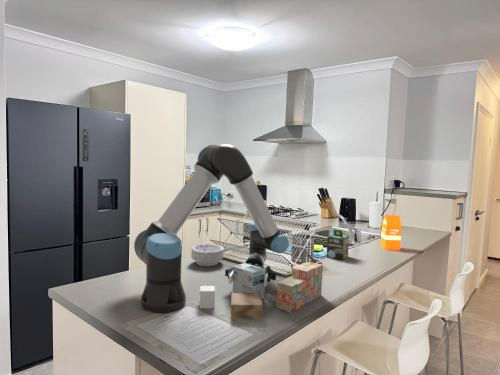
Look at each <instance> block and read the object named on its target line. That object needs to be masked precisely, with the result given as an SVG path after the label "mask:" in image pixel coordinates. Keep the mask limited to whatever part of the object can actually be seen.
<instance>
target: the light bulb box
mask: <svg viewBox="0 0 500 375" xmlns="http://www.w3.org/2000/svg"><path fill="white" fill-rule="evenodd" d="M238 264H239V263H238ZM263 268H264V267H263ZM263 268H260V267H256V266H253V265H250V264H246V263H245V262H243V263H240V264H239V265H236V264H234V265H233V281H232V293H260V294H261V299H264V298H265V291H266V290H265V288H266V287H264V279H265V269H263Z"/></svg>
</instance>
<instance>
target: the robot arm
mask: <svg viewBox="0 0 500 375" xmlns="http://www.w3.org/2000/svg"><path fill="white" fill-rule="evenodd" d="M193 168H194V172H193V173H192V175H191V176H190V178H189V179H188V180H187V181H186V183H185V184H184V185H183V187H182V188H181V189H180V190H179V192H178V193H177V195H176V196H175V197H174V199H173V200H172V202H171V203H170V205H168V207H167V208H166V210H165V211H164V213H163V214H162V215H161V216H160V217H159V219H158V220H157V221H152V222H151V223H150V225H149V226H148V227H147V228H146V229H145V230H142V231H141V232H139V233H138V234H137V235H136V237H135V239H134V242H133V250H134V252H135V254H136V257H138V259H139V260H140V261H142V262H143V263H144V264H145V265H146V270H145V271H146V274H145V275H146V276H145V277H146V279H145V280H146V281H145V282H146V283H145V286H144V289H143V292H142V294H141V297H140V307H141V309H143V310H144V311H147V312H151V313H169V312H174V311H177V310H179V309H182V308H183V307H184V306H185V305H186V301H187V297H186V292H185V290H184V287H183V283H182V253H183V252H182V251H183V245H182V240H181V238H180V237H179V236H178V233H179V231H180V230H181V229H182V227H183V226H184V224H185V223H186V222H187V220H188V219H189V217H191V216H190V215H191V214H192V213H193V212H194V210H195V209H196V207H197V206H198V204H199V203H200V202H201V200H202V199H203V198H204V196H205V195H206V194H207V192H208V191H209V189H210V188H211V187H212V185H213V184H218V183H219V182H220V180H221V179H222V178H223V177H226V179H227V180H228V181H229V183H230V185H232V186H234V188H235V189H236V191H237V193H238V194H239V197H240V199H241V201H242V202H243V204H244V206H245V209H246V210H247V212H248V214H249V216H250V217H251V219H252V221H253V222H252V223H250V226H249V247H248V256H247V259H246V260H245V262H244V263H246V264H250V265H253V266H256V267H260V268H263V269H265V279H264V287H265V288H267V285H268V283H271V280H272V281H276V280H277V273H276V272H275V270H273V269H272V268H271V266H269V265H267V266H266V267H264V266H265V264H266V261H267V250H268V251H271V252H272V253H277V254H283V253H285V252H287V250H288V249H289V246H290V243H289V242H290V241H289V239H288V237H287V236H285V234H282V233H281V231H280V229H279V228H278V226H277V224H276V222H275V220H274V218H273V216H272V214H271V212H270V210H269V208H268V206H267V203H266V201H265V199H264V198H263V195H262V193H261V192H260V190H259V188H258V186H257V183H256V182H255V179H254V177H253V174H254V172H253V169H252V168H251V166H250V164H249V162H248V160H247V158H246V157H245V156H244V154H243V153H242V152H241V150H239V149H238V148H237V147H236V146H234V145H231V144H209V145H207V146H205V147H203V148H202V149H201V150H200V151H199V153H198V155H197V161H196V162H195V164H194V165H193ZM235 265H239V263H236V264H235ZM233 266H234V265H233ZM233 266H230V267H228V268H225V270H224V276H225V277H227V279H228V284H229V285H230V284H233Z"/></svg>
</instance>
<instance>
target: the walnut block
mask: <svg viewBox="0 0 500 375" xmlns="http://www.w3.org/2000/svg"><path fill="white" fill-rule="evenodd" d="M230 295H231V298H230V320H263V309H264V308H263V300H262V299H263V298H261V294H260V293H233V292H231V293H230Z"/></svg>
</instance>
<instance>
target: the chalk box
mask: <svg viewBox="0 0 500 375" xmlns="http://www.w3.org/2000/svg"><path fill="white" fill-rule="evenodd" d="M337 233H339V234H337ZM326 238H327V239H326V258H330V259H335V260H339V261H344V260H345V259H346V258H347V257H349V247H350V246H349V243H350V242H349V238H350V235H345V234H343V230H339V229H333V234H330V235H328V236H327V237H326Z"/></svg>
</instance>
